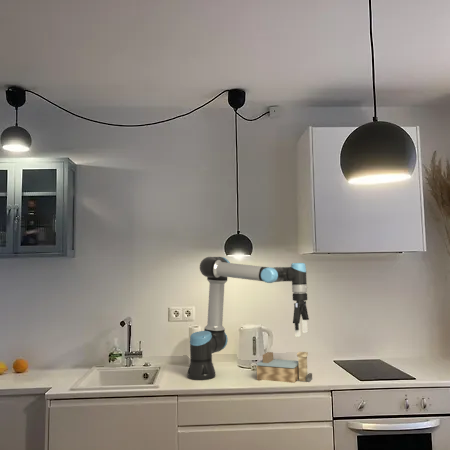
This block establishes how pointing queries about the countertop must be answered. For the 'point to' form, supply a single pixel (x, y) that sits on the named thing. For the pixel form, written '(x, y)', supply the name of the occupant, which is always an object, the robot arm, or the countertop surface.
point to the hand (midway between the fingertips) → (301, 334)
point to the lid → (276, 361)
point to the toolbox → (280, 374)
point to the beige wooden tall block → (302, 365)
